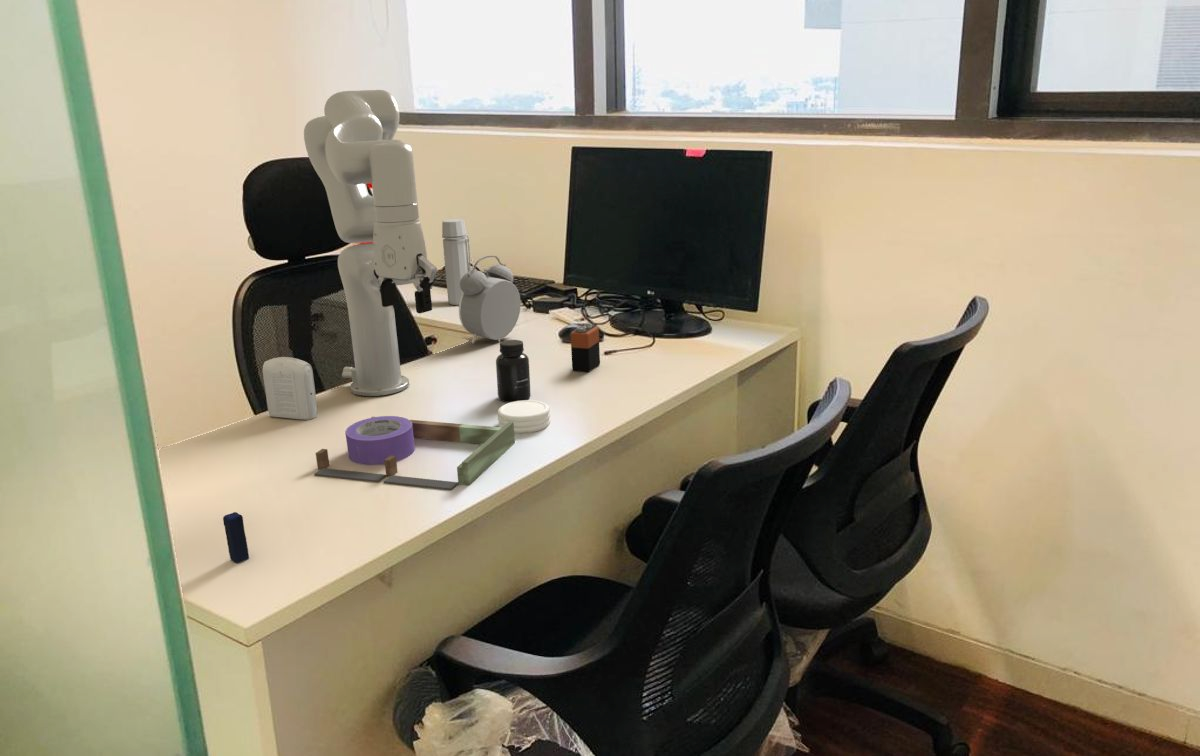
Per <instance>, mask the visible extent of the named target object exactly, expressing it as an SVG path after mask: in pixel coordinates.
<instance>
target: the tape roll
mask: <svg viewBox="0 0 1200 756" xmlns="http://www.w3.org/2000/svg"><path fill="white" fill-rule="evenodd" d="M372 417H373V418H371V417H369V418H368V417H367V418H364V419H362V420H359V421H356V422H354V423H352V424H351V425H348V427H346V430H345V431H344V432H345V441H346V447H347V453H348V454H347V455H348V459H349V460H350V461H351V462H352V463H354V464H358V465H362V466H363V465H364V466H380V465H385V461H384V460H385V459H386V458H388V457H389V456H390V455H391V456H396V462H399V461H402V460H404V459H407V458H409V457H410V456H411V455H413V454H414V452H415V451H416V446H415V438H414V436H413V427H412V422H411V421H410V420H411V419H408V418H406V417H402V416H398V415H381V416H372Z"/></svg>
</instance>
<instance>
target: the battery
mask: <svg viewBox="0 0 1200 756" xmlns="http://www.w3.org/2000/svg"><path fill="white" fill-rule="evenodd" d="M570 346H571V347H570V349H571V367H572V368H571V369H572V371H573V372H580V371H581V373H582V372H584V373H590V372H591V371H592V370H594V369H595V368H596V367H598V366H600V363H601V356H600V355H601V354H600V352H601V351H600V329H599V327H598V326H594V325H592V323H590V322H589V323H588V322H587V323H584V325H579V326H577V327H576V329H574V330H573V331H571V332H570Z"/></svg>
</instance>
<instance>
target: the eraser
mask: <svg viewBox="0 0 1200 756" xmlns="http://www.w3.org/2000/svg"><path fill="white" fill-rule="evenodd" d="M222 519H223V520H222V521H223V526H224V530H225V536H226V541H227V548H228V555H229V557H230V561H231V562H234V563H235V564H240V563H242V562H245V561H247V560H248V559H249V558H250V555H249V547H248V541H247V536H246V532H245V525H244V517H243V515H242V514H239V513H238V512H236V511H234V512H231V513H229V514H225V515H224V516H223V518H222Z"/></svg>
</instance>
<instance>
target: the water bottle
mask: <svg viewBox="0 0 1200 756" xmlns="http://www.w3.org/2000/svg"><path fill="white" fill-rule="evenodd" d="M441 222H442V225H441V226H442V227H441V233H442V235H441V237H442V246H443V256H444V259H443V260H444V269H445V279H446V281H445V282H446V293H447V301H448V304H449V305H452V306H456V307H459V302H460V299H461V295H462V293H463V292H462V290H461V288H460V281H461V279H462V277H463V276H464V275H465V274H466V273H468V272H470V271H472V269H473V268H474V265H475V263H474V260H473V253H472V249H471V243H470V240H471V236H469V235H467V228H466V222H465V219H463V218H449V219H444V220H442V221H441ZM471 266H472V268H471ZM474 271H476V269H475V270H474Z"/></svg>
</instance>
